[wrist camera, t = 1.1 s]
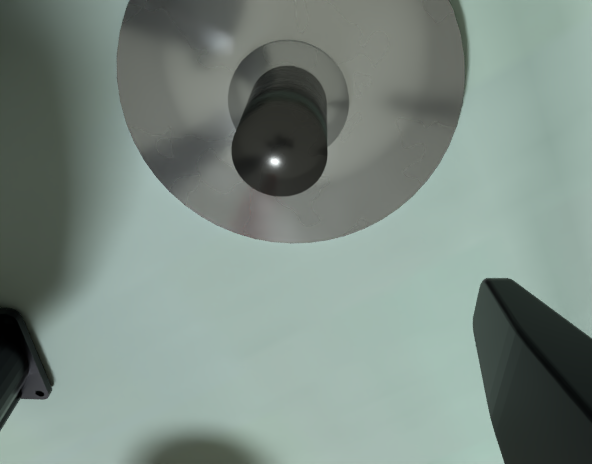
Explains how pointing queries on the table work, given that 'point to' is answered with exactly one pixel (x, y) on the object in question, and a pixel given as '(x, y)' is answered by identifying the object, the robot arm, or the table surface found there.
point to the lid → (291, 107)
